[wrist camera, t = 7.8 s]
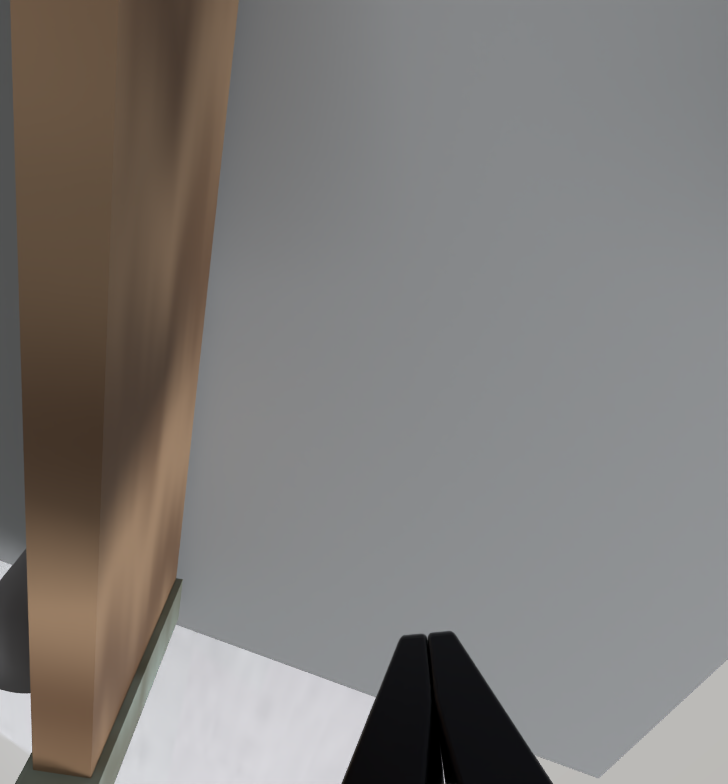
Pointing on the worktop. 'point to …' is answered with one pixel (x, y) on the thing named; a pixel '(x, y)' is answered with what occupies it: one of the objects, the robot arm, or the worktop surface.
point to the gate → (109, 344)
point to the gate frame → (455, 355)
